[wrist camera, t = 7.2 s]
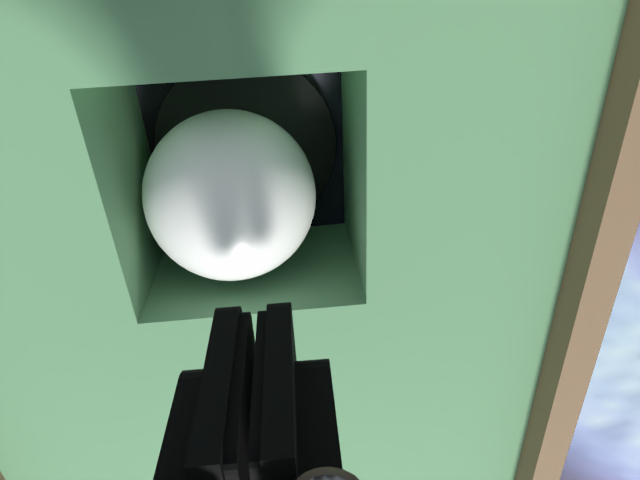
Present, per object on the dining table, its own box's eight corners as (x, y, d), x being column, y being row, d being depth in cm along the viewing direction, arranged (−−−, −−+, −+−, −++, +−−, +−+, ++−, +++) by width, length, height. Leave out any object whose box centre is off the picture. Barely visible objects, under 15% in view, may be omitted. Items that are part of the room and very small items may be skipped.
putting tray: (577, -120, 14) (758, -165, 9) (471, 494, 28) (516, 617, 23) (-170, -86, 13) (-470, -114, 8) (107, 533, 27) (67, 671, 22)
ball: (343, 213, 12) (320, 295, 16) (306, 65, 14) (295, 171, 18) (123, 237, 11) (161, 317, 15) (122, 75, 13) (156, 183, 18)
